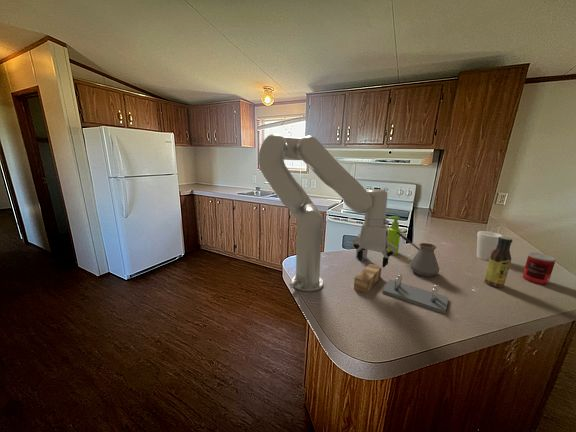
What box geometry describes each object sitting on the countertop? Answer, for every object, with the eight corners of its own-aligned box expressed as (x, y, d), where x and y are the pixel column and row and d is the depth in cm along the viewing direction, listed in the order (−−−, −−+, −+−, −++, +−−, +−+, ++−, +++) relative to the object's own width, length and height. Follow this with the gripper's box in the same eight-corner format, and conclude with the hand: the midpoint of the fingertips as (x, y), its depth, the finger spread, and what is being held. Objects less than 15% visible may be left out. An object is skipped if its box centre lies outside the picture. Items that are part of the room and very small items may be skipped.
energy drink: (367, 260, 116) (369, 237, 113) (356, 259, 117) (358, 236, 114) (366, 256, 121) (368, 234, 118) (355, 255, 122) (357, 233, 119)
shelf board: (366, 293, 88) (367, 282, 87) (353, 289, 91) (354, 277, 90) (380, 277, 100) (381, 267, 99) (368, 273, 103) (370, 263, 102)
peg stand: (445, 314, 76) (448, 298, 75) (382, 292, 88) (384, 278, 87) (447, 299, 84) (450, 285, 83) (389, 282, 96) (391, 268, 94)
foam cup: (498, 263, 114) (504, 238, 111) (474, 259, 118) (480, 235, 115) (493, 256, 122) (499, 232, 119) (471, 252, 126) (476, 230, 123)
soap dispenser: (382, 250, 128) (386, 215, 124) (394, 250, 129) (398, 215, 124) (387, 254, 123) (391, 218, 118) (399, 254, 123) (404, 218, 118)
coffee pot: (443, 274, 102) (449, 242, 99) (429, 281, 97) (435, 247, 93) (399, 257, 120) (403, 229, 116) (384, 262, 114) (388, 233, 110)
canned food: (540, 277, 101) (547, 253, 98) (553, 286, 93) (561, 261, 91) (517, 274, 103) (524, 251, 100) (529, 283, 96) (536, 258, 93)
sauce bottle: (499, 289, 91) (511, 242, 86) (480, 282, 96) (491, 236, 91) (507, 285, 94) (519, 239, 89) (488, 278, 99) (499, 234, 94)
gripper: (401, 222, 87) (397, 264, 91) (356, 216, 97) (354, 254, 101) (396, 227, 81) (392, 272, 85) (349, 220, 91) (347, 260, 96)
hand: (372, 262), depth 93 cm, fingers open, 9 cm apart
